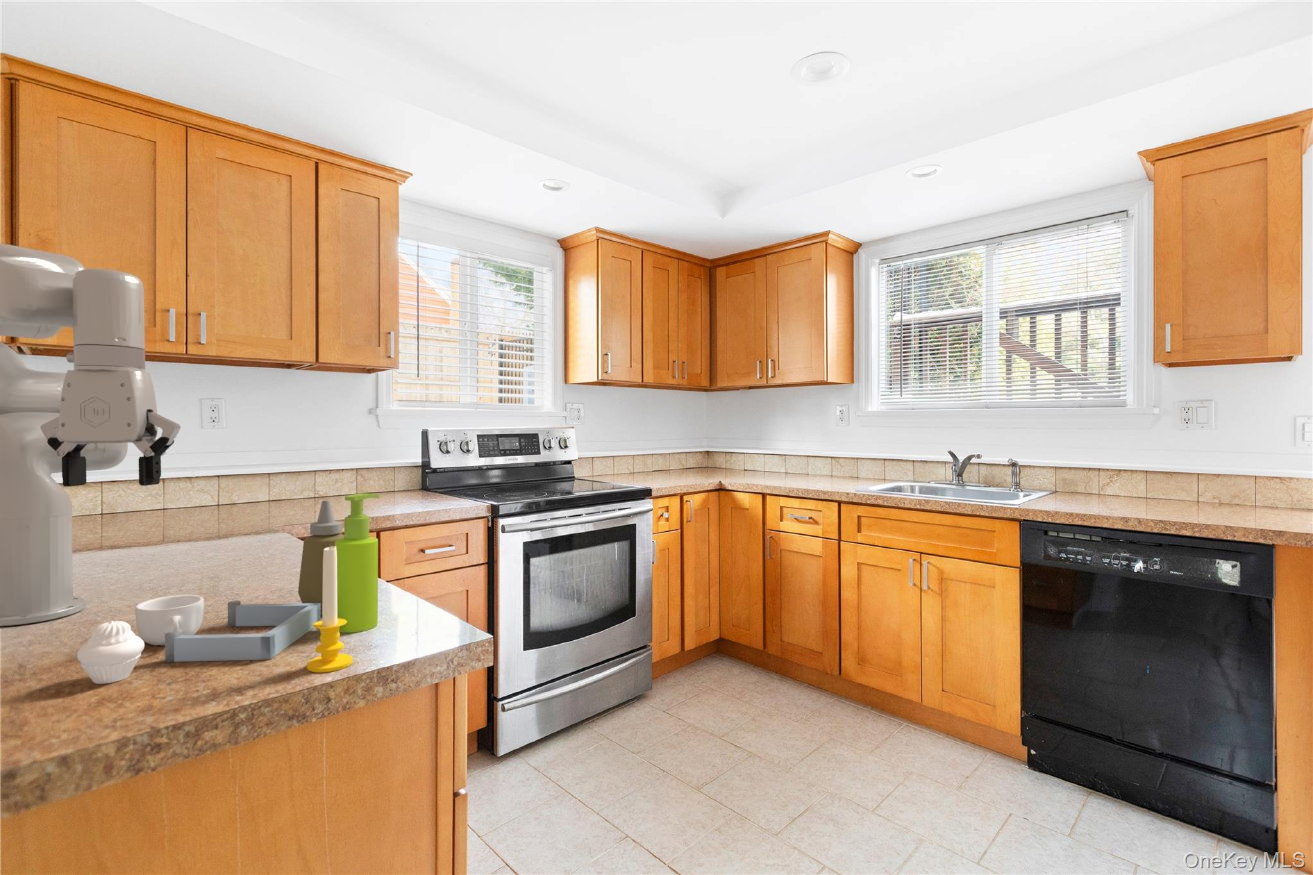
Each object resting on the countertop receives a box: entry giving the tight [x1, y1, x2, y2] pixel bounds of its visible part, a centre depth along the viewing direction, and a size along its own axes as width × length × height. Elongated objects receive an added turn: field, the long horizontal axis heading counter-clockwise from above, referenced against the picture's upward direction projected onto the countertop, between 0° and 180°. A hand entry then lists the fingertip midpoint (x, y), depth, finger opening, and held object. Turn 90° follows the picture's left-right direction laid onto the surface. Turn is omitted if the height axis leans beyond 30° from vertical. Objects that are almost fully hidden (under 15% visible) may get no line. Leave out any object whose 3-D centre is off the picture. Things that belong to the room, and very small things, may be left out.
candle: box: [306, 545, 354, 674], centre depth 82 cm, size 5×5×16 cm
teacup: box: [134, 594, 205, 646], centre depth 89 cm, size 10×8×5 cm
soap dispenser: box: [335, 492, 381, 634], centre depth 97 cm, size 6×7×20 cm
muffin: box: [76, 620, 145, 685], centre depth 76 cm, size 6×6×7 cm
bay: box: [164, 600, 322, 663], centre depth 90 cm, size 13×16×4 cm
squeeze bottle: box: [297, 499, 344, 616], centre depth 104 cm, size 8×8×18 cm
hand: (112, 485), depth 89 cm, fingers open, 9 cm apart
